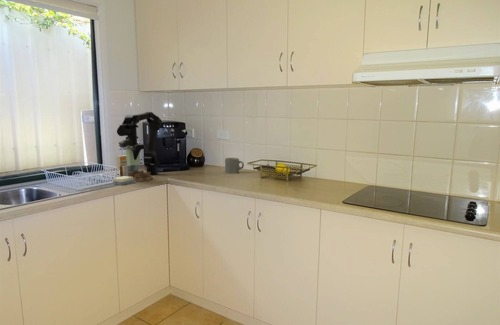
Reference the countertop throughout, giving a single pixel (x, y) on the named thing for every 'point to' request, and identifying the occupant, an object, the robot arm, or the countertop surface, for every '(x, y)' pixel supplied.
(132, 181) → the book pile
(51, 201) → the countertop surface
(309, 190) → the countertop surface
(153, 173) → the robot arm
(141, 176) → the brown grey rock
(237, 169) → the coffee mug
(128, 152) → the sage book
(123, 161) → the supplement box
